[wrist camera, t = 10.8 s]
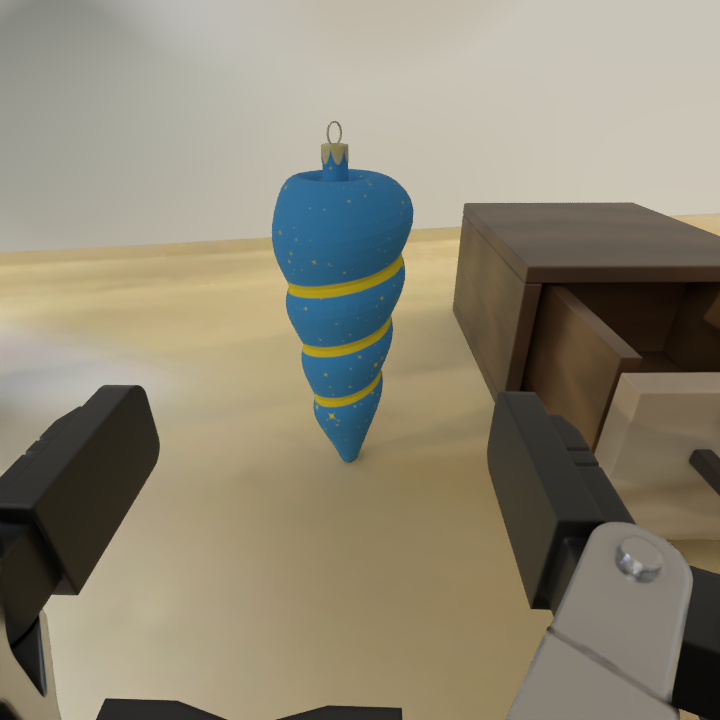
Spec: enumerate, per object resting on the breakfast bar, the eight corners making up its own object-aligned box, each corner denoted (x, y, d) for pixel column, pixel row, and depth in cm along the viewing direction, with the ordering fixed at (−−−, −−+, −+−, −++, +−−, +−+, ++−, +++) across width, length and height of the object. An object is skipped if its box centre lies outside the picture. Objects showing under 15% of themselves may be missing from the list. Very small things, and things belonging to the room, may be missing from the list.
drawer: (1047, 674, 13) (1282, 511, 10) (656, 678, 13) (758, 515, 10) (672, 361, 29) (713, 256, 26) (493, 362, 29) (510, 257, 26)
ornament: (418, 452, 23) (444, 119, 16) (359, 518, 20) (358, 127, 12) (337, 417, 26) (327, 116, 18) (272, 470, 22) (226, 122, 15)
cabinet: (723, 414, 26) (796, 265, 22) (500, 415, 26) (528, 266, 22) (602, 309, 39) (632, 202, 34) (452, 310, 39) (464, 203, 34)
